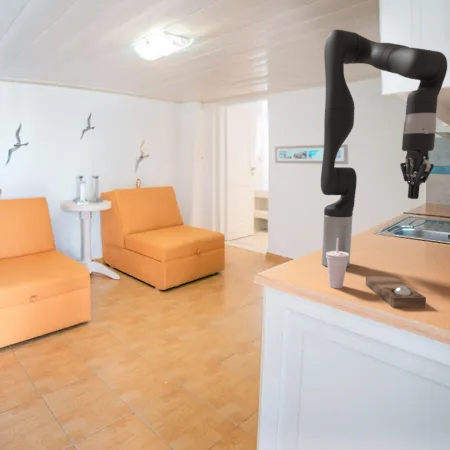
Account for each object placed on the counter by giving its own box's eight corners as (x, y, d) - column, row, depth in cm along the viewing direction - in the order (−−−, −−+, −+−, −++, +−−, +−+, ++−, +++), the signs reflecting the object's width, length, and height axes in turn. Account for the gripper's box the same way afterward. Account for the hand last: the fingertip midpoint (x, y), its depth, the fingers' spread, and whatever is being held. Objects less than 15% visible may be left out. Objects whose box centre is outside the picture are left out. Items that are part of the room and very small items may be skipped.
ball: (392, 283, 96) (399, 290, 93) (407, 283, 96) (415, 290, 93) (389, 297, 98) (397, 305, 94) (404, 297, 98) (412, 305, 94)
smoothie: (343, 282, 110) (345, 236, 108) (350, 289, 104) (354, 240, 102) (321, 282, 110) (323, 236, 108) (328, 290, 104) (330, 241, 101)
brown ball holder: (365, 284, 108) (366, 276, 108) (392, 284, 109) (393, 276, 108) (393, 307, 92) (393, 297, 91) (425, 307, 92) (426, 297, 91)
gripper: (393, 133, 104) (388, 196, 107) (417, 130, 91) (411, 201, 94) (419, 133, 104) (414, 196, 107) (448, 130, 91) (441, 201, 94)
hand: (413, 198), depth 100 cm, fingers closed
